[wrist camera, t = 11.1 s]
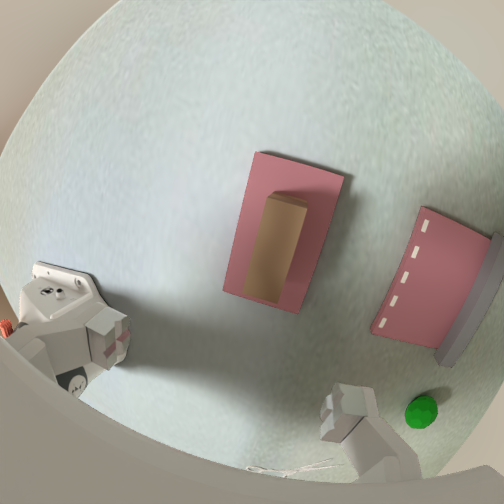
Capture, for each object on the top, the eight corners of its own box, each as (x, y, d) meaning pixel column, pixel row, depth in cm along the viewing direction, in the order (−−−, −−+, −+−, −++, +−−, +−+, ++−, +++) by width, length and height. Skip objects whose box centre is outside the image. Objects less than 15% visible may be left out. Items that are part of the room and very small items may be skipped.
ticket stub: (225, 286, 29) (207, 312, 23) (257, 151, 24) (243, 148, 18) (298, 309, 28) (295, 340, 23) (342, 176, 23) (352, 179, 18)
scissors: (237, 468, 42) (327, 452, 35) (238, 465, 43) (327, 449, 36) (266, 485, 43) (350, 470, 36) (267, 483, 44) (350, 467, 37)
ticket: (366, 335, 27) (370, 352, 24) (424, 196, 22) (437, 200, 19) (453, 354, 26) (461, 369, 23) (509, 241, 20) (523, 248, 17)
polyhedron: (401, 414, 30) (406, 438, 26) (403, 395, 29) (410, 420, 25) (430, 405, 29) (438, 428, 24) (435, 385, 28) (444, 409, 23)
